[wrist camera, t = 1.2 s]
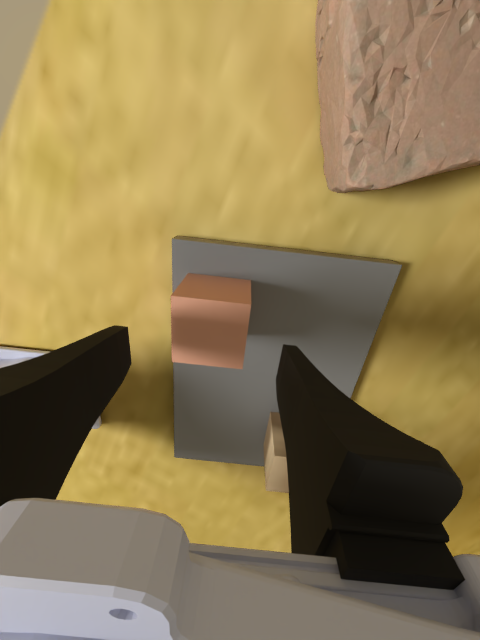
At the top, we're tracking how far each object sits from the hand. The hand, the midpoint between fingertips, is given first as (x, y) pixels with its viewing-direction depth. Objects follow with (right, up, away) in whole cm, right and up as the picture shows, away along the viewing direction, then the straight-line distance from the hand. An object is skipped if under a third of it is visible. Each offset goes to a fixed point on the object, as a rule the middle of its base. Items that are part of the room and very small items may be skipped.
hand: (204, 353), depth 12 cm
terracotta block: (0, +3, +5) cm, 6 cm away
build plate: (+4, -3, +9) cm, 10 cm away
